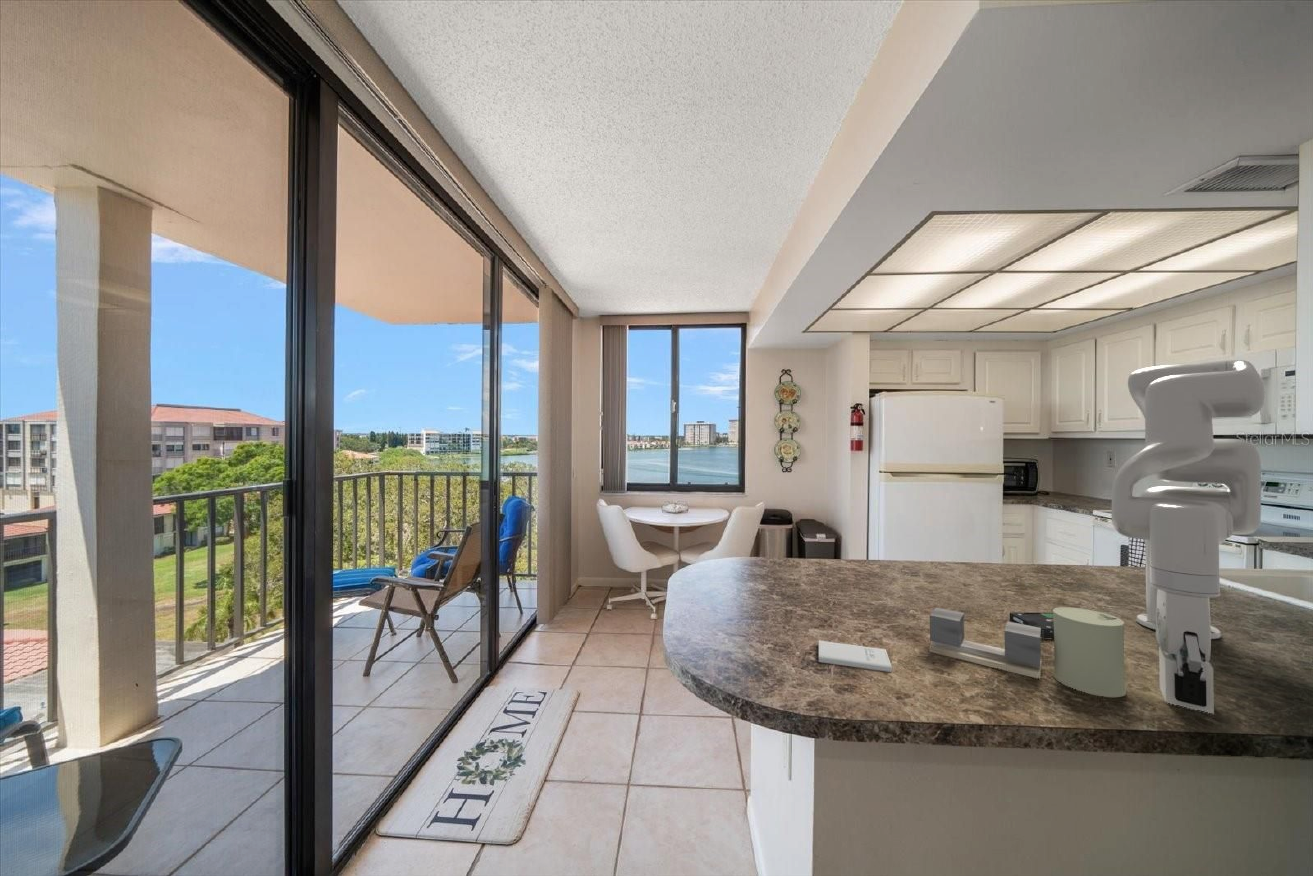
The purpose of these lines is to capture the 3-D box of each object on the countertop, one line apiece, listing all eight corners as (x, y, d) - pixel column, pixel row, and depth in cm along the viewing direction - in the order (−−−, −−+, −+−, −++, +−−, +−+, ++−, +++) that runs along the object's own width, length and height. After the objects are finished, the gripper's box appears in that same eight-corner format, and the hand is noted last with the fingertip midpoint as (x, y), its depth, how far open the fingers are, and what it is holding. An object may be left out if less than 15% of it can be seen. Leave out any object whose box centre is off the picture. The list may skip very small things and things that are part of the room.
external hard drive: (818, 647, 97) (885, 656, 93) (818, 665, 89) (891, 675, 85) (818, 639, 97) (885, 648, 93) (818, 656, 89) (891, 666, 85)
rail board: (936, 640, 99) (936, 606, 99) (1041, 665, 88) (1040, 627, 88) (929, 651, 94) (929, 615, 94) (1040, 679, 83) (1039, 638, 83)
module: (1159, 688, 80) (1159, 645, 80) (1204, 698, 77) (1203, 653, 77) (1165, 703, 75) (1165, 657, 75) (1213, 714, 72) (1213, 667, 72)
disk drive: (1044, 642, 100) (1115, 642, 100) (1043, 629, 100) (1115, 628, 100) (1008, 624, 110) (1073, 623, 110) (1008, 611, 110) (1072, 611, 110)
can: (1142, 700, 76) (1140, 624, 76) (1076, 695, 78) (1075, 621, 78) (1099, 673, 85) (1098, 605, 85) (1041, 669, 87) (1040, 602, 87)
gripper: (1142, 567, 85) (1144, 666, 85) (1158, 589, 72) (1160, 707, 72) (1206, 574, 80) (1207, 680, 80) (1234, 599, 67) (1237, 726, 67)
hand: (1185, 692), depth 76 cm, fingers open, 7 cm apart
